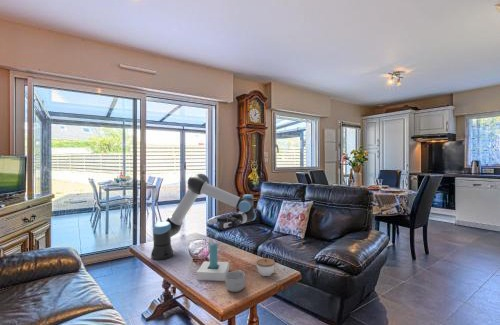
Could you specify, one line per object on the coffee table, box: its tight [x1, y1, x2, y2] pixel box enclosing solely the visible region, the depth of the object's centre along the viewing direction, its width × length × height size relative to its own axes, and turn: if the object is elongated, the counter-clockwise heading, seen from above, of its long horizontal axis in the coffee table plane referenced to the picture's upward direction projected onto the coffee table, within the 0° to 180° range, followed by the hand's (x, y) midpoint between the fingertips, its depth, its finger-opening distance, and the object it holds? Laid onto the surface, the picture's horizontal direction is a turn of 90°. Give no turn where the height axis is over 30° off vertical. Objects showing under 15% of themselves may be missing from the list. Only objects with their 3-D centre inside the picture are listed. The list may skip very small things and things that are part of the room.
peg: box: [209, 242, 218, 269], centre depth 162 cm, size 4×4×18 cm
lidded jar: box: [256, 257, 276, 277], centre depth 161 cm, size 11×11×9 cm
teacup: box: [224, 269, 246, 293], centre depth 145 cm, size 14×11×8 cm
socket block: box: [196, 260, 230, 282], centre depth 162 cm, size 16×16×4 cm
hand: (216, 224), depth 173 cm, fingers open, 13 cm apart
